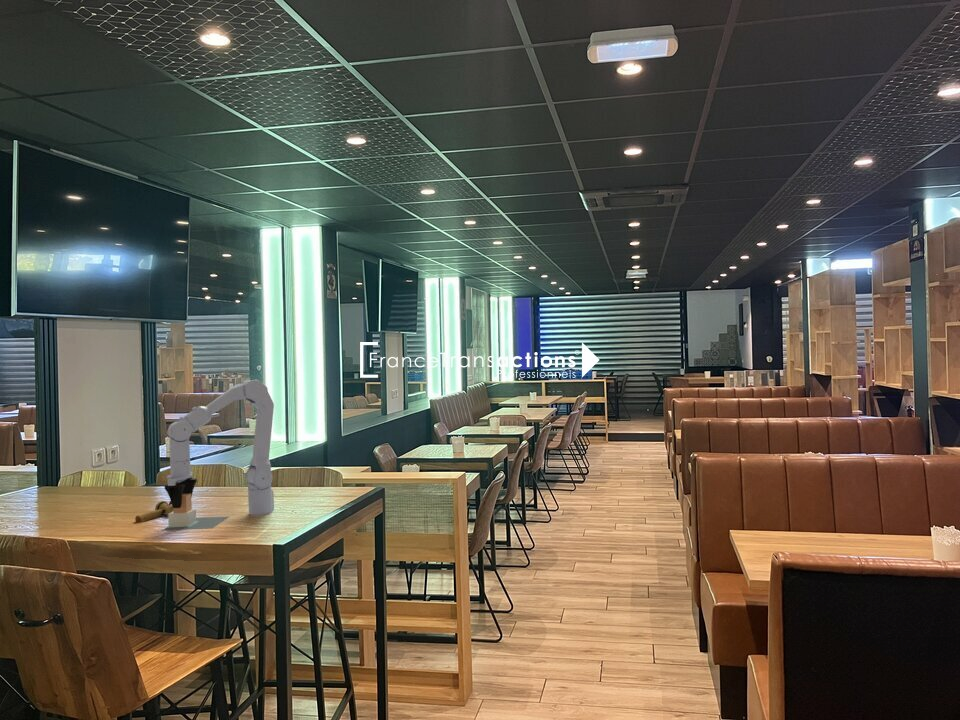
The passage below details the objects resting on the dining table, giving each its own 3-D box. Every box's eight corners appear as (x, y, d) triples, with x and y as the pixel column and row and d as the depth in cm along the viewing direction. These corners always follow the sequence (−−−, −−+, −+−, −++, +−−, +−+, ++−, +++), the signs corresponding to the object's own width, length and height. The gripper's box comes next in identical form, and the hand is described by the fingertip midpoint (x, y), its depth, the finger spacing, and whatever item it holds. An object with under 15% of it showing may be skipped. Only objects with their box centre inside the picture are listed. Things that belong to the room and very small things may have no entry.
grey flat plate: (182, 520, 231) (182, 518, 231) (230, 519, 231) (230, 516, 231) (161, 533, 215) (161, 530, 215) (212, 531, 215) (212, 528, 215)
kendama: (149, 530, 226) (195, 510, 242) (143, 510, 226) (190, 492, 242) (134, 532, 230) (180, 512, 246) (128, 513, 230) (175, 494, 245)
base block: (176, 522, 225) (176, 509, 225) (196, 521, 225) (195, 508, 225) (168, 527, 219) (168, 513, 219) (188, 526, 219) (188, 513, 219)
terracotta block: (178, 510, 224) (178, 494, 224) (191, 509, 224) (191, 493, 224) (173, 513, 220) (172, 496, 220) (186, 512, 220) (186, 496, 220)
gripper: (176, 458, 229) (178, 500, 229) (156, 465, 215) (158, 510, 215) (199, 457, 229) (200, 500, 229) (180, 464, 215) (182, 509, 215)
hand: (181, 505), depth 222 cm, fingers open, 7 cm apart
